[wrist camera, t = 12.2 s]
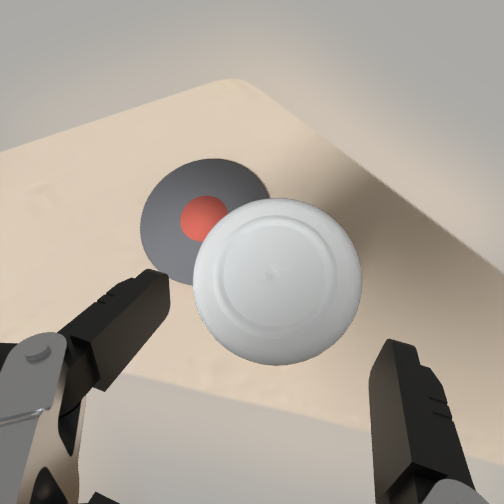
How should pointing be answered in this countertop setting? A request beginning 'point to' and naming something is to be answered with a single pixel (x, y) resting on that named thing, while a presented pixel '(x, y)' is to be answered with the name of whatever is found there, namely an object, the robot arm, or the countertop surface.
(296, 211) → the sprinkles bottle
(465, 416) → the countertop surface
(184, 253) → the coaster
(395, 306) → the countertop surface
